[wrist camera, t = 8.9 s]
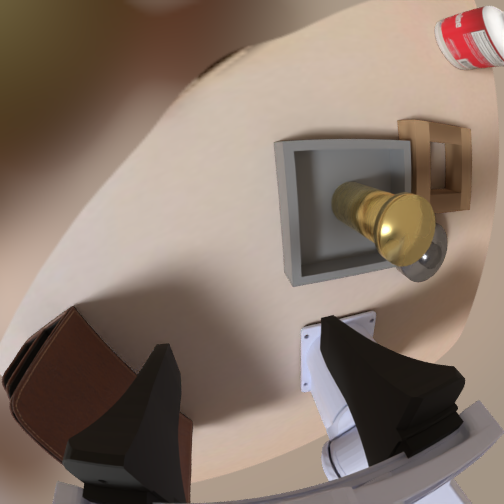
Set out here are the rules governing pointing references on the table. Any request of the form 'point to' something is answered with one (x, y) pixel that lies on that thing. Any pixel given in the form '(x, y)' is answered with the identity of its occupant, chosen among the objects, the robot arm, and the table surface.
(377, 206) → the lock pin
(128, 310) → the table surface
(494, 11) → the pill bottle
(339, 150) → the tray
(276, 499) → the robot arm
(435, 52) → the table surface
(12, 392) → the letter holder
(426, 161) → the block
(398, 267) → the pulley
